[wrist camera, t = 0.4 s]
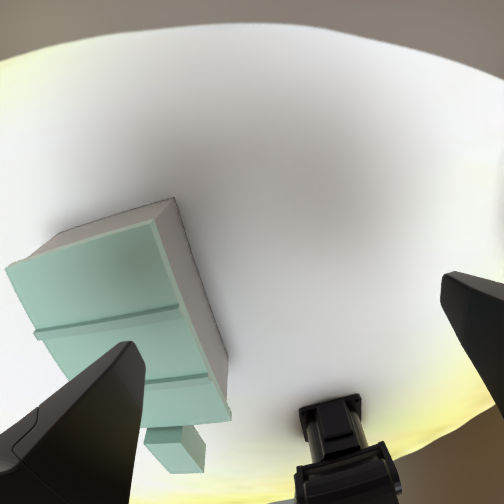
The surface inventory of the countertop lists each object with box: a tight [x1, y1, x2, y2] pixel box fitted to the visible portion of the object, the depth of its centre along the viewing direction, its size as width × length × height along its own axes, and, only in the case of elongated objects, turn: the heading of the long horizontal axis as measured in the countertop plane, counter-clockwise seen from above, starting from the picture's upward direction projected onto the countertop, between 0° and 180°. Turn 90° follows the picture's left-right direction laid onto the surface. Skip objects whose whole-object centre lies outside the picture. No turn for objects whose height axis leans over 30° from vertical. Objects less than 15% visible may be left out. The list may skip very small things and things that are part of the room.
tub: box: [27, 197, 228, 402], centre depth 21 cm, size 14×10×6 cm
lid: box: [5, 219, 231, 474], centre depth 19 cm, size 20×11×3 cm, turn 13°
